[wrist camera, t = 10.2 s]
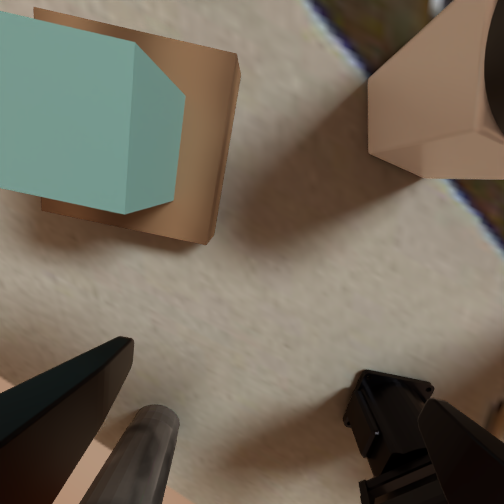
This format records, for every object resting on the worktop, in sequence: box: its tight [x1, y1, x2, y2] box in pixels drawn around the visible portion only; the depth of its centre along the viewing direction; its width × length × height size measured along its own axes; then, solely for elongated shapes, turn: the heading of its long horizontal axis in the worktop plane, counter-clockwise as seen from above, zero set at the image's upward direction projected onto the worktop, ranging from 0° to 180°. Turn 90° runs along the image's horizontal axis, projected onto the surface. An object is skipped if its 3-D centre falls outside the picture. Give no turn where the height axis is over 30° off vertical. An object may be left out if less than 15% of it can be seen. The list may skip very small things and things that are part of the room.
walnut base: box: [34, 7, 241, 245], centre depth 17 cm, size 11×11×3 cm
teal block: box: [0, 11, 186, 215], centre depth 12 cm, size 6×6×6 cm
